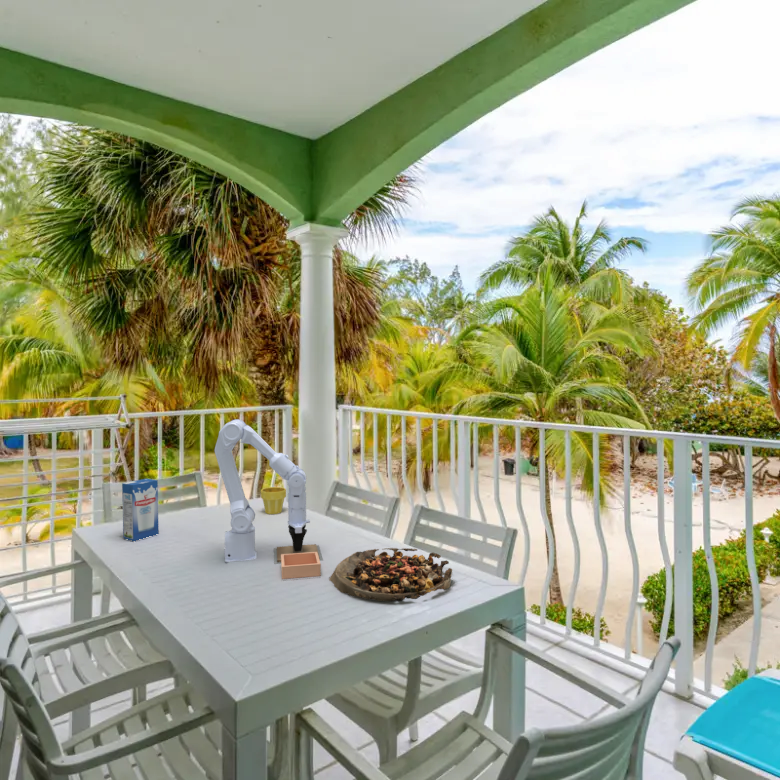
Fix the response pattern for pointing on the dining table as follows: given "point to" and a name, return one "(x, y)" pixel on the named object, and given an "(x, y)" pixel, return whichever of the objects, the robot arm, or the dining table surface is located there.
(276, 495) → the plant pot
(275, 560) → the mat
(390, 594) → the food dish
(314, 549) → the lid
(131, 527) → the milk carton
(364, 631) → the dining table surface
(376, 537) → the dining table surface
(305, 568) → the pink shallow tray
